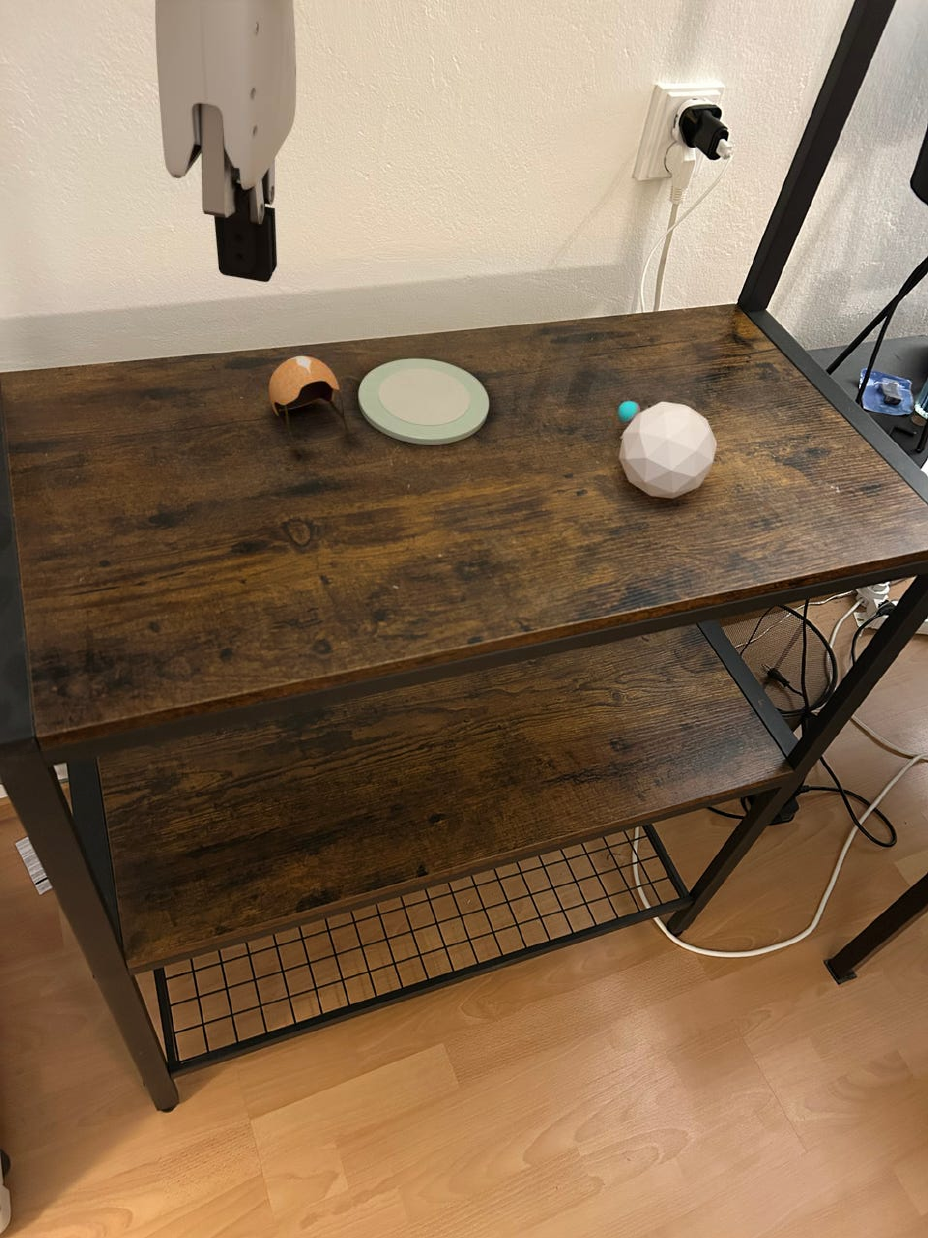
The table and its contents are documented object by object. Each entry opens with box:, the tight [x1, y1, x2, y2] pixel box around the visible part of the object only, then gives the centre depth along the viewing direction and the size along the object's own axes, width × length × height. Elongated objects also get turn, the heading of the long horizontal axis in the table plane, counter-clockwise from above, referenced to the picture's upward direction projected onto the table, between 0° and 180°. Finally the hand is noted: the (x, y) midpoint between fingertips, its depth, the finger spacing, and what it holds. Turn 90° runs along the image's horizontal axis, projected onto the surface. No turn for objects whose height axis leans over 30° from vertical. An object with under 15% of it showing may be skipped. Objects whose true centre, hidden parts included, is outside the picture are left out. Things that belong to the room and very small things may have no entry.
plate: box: [357, 357, 490, 446], centre depth 89 cm, size 12×12×1 cm
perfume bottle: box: [617, 400, 718, 499], centre depth 83 cm, size 8×8×12 cm
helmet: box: [268, 355, 351, 456], centre depth 83 cm, size 6×7×8 cm
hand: (248, 271), depth 60 cm, fingers closed
